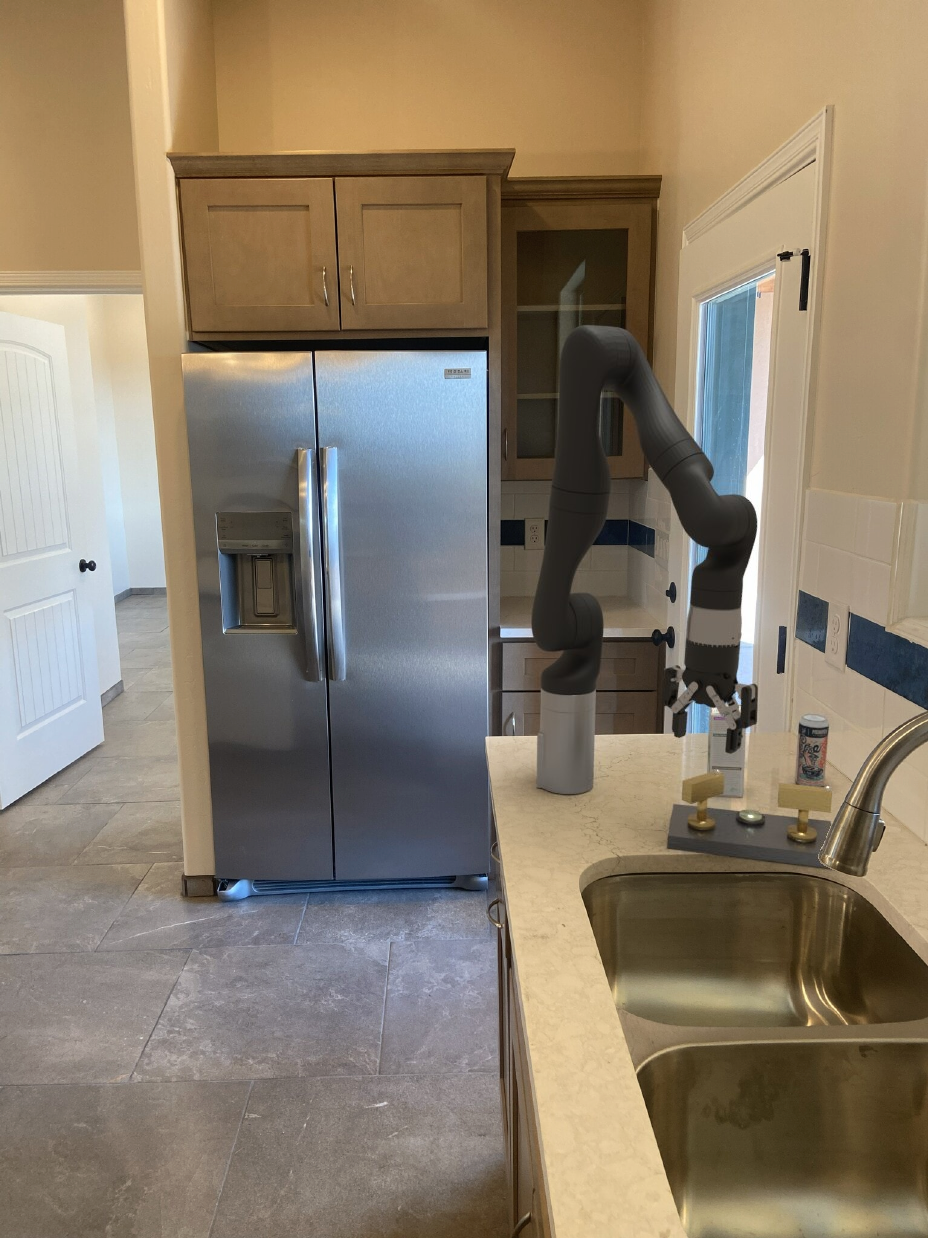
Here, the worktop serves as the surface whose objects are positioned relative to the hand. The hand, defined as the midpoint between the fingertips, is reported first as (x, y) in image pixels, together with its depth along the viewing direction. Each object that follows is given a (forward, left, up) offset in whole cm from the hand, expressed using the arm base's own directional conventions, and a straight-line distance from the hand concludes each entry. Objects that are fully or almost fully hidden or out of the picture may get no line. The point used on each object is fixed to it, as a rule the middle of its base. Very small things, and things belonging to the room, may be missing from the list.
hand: (705, 744), depth 131 cm
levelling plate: (+7, +1, -15) cm, 16 cm away
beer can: (+17, +27, -15) cm, 35 cm away
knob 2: (+14, 0, -13) cm, 19 cm away
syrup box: (+3, +20, -15) cm, 25 cm away
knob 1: (0, 0, -13) cm, 13 cm away
